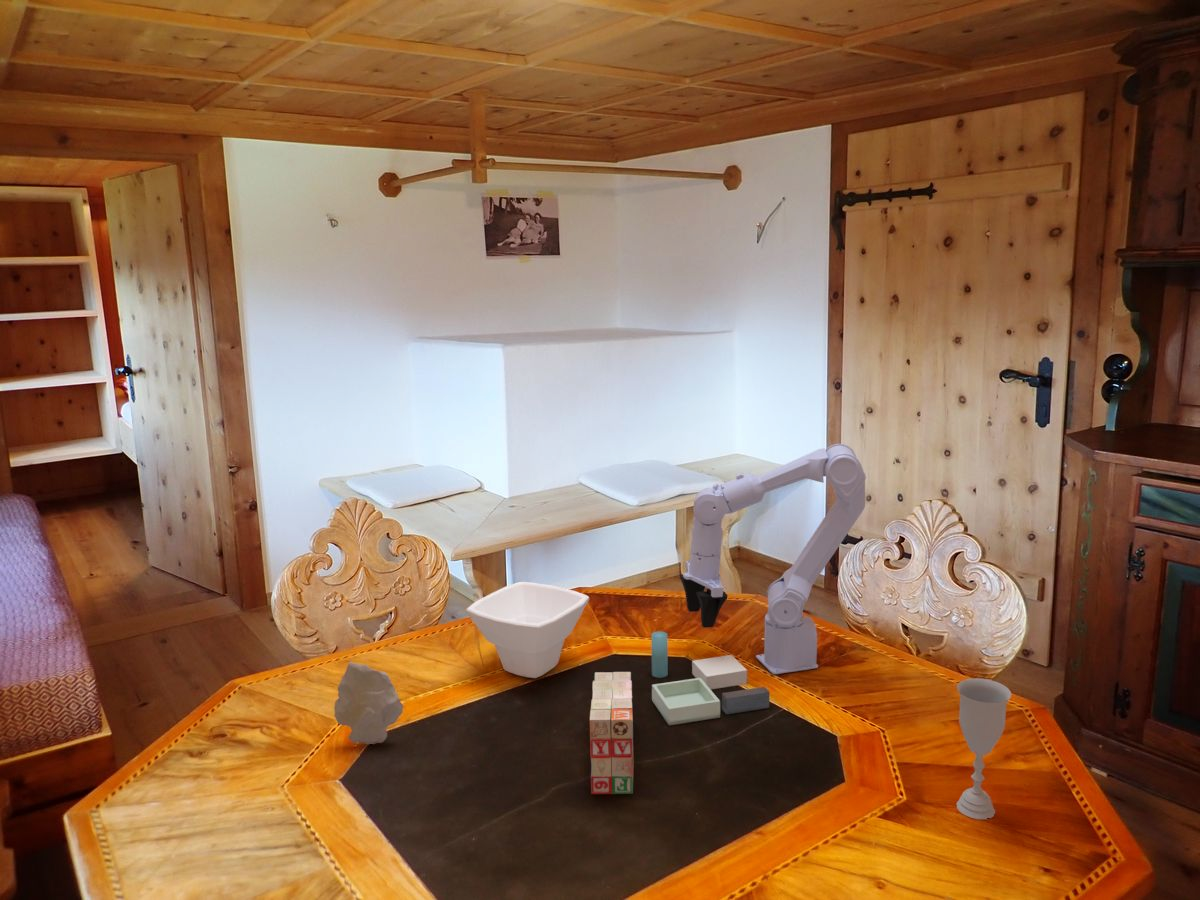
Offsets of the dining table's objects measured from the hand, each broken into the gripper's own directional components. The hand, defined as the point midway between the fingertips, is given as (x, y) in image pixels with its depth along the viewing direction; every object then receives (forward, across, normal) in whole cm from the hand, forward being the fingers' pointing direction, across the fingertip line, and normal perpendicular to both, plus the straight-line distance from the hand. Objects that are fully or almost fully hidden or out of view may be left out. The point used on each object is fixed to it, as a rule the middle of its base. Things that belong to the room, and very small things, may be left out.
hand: (700, 618), depth 172 cm
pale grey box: (+9, +9, +1) cm, 12 cm away
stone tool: (+12, +14, -62) cm, 65 cm away
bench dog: (+8, +21, +1) cm, 22 cm away
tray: (+9, +18, -9) cm, 22 cm away
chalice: (+6, +57, +20) cm, 60 cm away
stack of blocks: (+10, +28, -25) cm, 39 cm away
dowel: (+9, +4, -9) cm, 13 cm away
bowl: (+11, -5, -32) cm, 34 cm away
